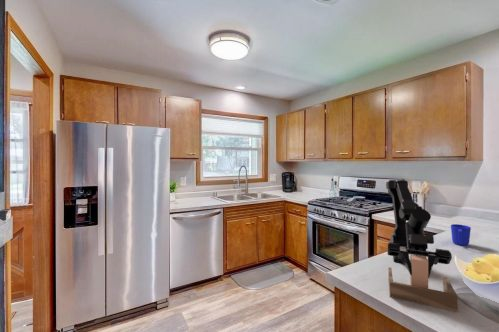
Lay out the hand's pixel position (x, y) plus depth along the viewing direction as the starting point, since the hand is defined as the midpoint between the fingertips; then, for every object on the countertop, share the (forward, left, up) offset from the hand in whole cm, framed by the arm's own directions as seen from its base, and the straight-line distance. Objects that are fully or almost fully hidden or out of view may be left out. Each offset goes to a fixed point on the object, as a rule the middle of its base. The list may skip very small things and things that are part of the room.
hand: (419, 276), depth 81 cm
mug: (-69, +27, -7) cm, 75 cm away
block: (-1, 0, -7) cm, 7 cm away
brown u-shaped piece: (-2, 0, -7) cm, 7 cm away
